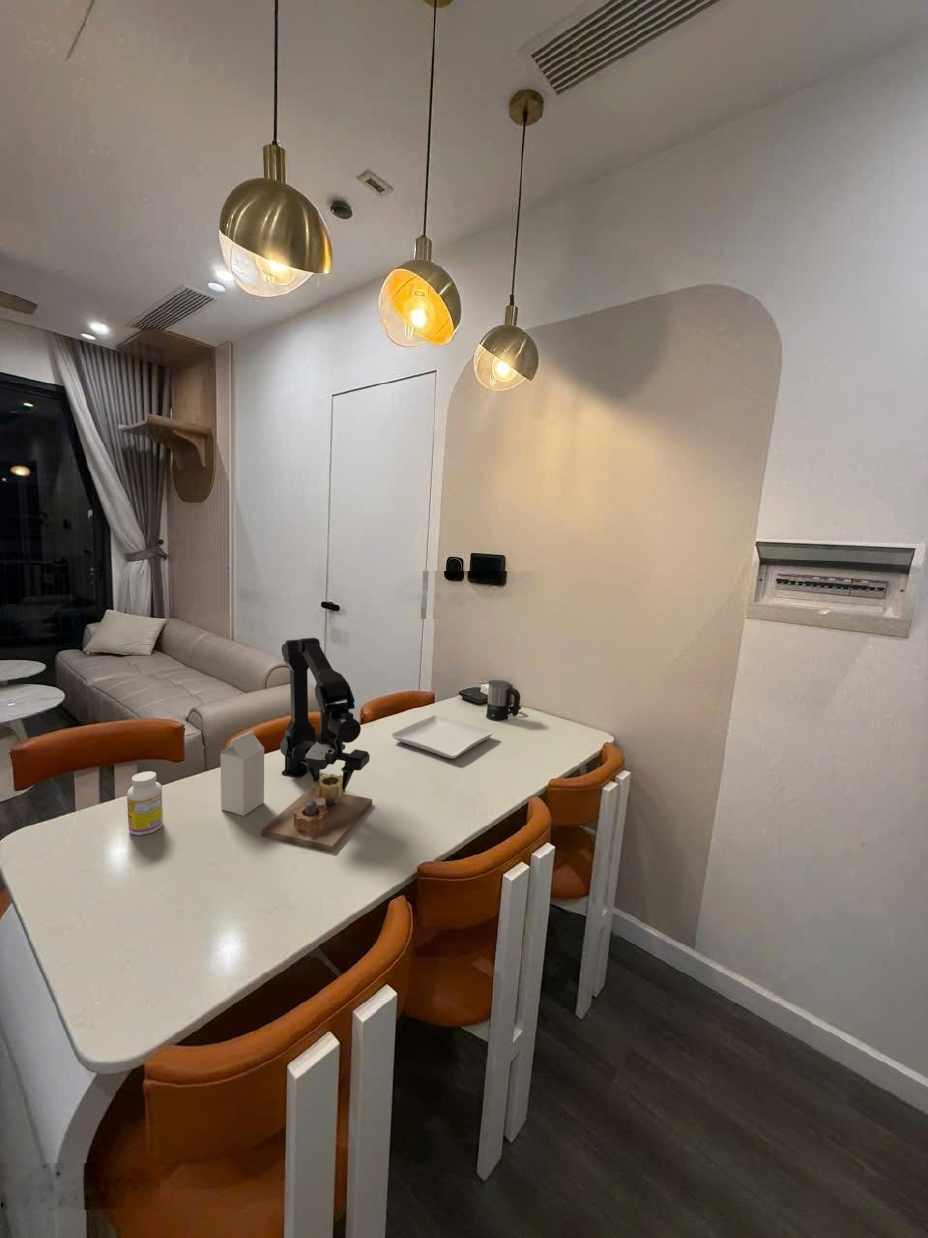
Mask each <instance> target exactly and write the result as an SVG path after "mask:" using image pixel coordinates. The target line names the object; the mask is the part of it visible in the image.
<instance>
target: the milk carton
mask: <svg viewBox="0 0 928 1238" xmlns="http://www.w3.org/2000/svg"><path fill="white" fill-rule="evenodd" d="M254 732H255V731H254V730H251V731H249V732H247V733H244V734H242V735H240V736H238V737H235V738H233V739H232V740H231V741H230V745H229V746H228V747H227V748H225V749H224V750H223V751H222V752H221V753H220V810H223V811H227V812H229V813H233V814H236V815H239V816H242V817H244V816H247V814H249V813H251V812H252V811H253V810H255V809H256V808H258V807H259V806H261V805H262V804H264V803H265V747H264V746H263V744H262V743H261V742H260V741H259V739H258V738H257V737H256V736H255V734H254Z"/></svg>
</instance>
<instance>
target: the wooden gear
mask: <svg viewBox="0 0 928 1238" xmlns="http://www.w3.org/2000/svg"><path fill="white" fill-rule="evenodd" d="M342 782H343V774H340V775H337V774H336V775H335V773H330V774H327V775H324V774H323V775H320V776H319V779H318V780H315V783H314V787H313V788H314V793H316V797H317V798H325V799H326V800H331V798H336V797H337V798H340V797H342V793H344V794H346V789H347V788H346V789H345V790H343V789H342ZM327 784H333V785H327Z"/></svg>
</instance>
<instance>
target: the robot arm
mask: <svg viewBox="0 0 928 1238" xmlns="http://www.w3.org/2000/svg"><path fill="white" fill-rule="evenodd" d="M320 645H321V643H320V640H319V638H316V637H306V638H305V637H303V638H300V639H299V638H298V639H286V641H285V642H284V643H283V644H282V645H281V654H282V657H283V662H284V663H285V665H286V666H287V667H288V668H287V669H288V670H289V675H290V676H289V678H290V679H289V681H290V683H289V685H290V721H289V723H288V725H287V726H286V727H285V730H284V734H285V735H284V736H283V738H282V741H281V742H280V744H279V749H280V753H281V754H282V756H284V769H283V770H282V771H281V775H285V776H291V777H295V778H302V777H303V776H305V775H306V774H308V773H310V775H311V778H312V781H313V783H314V784H315V780H318V779H319V777H320V776H321V775H320V772H321V771H322V770H325V769H327V767H328V766H329V765H334V764H335V763H336V762H337V761H343V762H344V766H343V767H342V768H341V771H342V776H343V782H342V789H343V790H345V789H347V788H348V784H349V782H350V780H351V778H352V775H353V774H354V771H357V772H358V771H362V769H363V768H364V767H365V766H366V765H367V764H369V762H370V757H371V756H370V752H368V751H367V750H363V749H361V750H360V749H356V748H354V750H352V752H350V753H348V752H344V750H345V749H346V744H349V743H352V742H355V741H356V740H357V739H358V738H359V736H360V735H361V730H362V727H361V723H360V722H359V721H358V720H357V719H355V718H354V713H353V712H350V710H353V709H354V710H355V709H356V706H355V701H356V700H355V697H354V695H353V691H352V689H351V686H350V684H349V681H347V680H346V678H345V677H344V676H343V675H342V673H340V672H338V671H335V670H334V669H333V667H332V666H331V663H330V662H329V660H328V658H327V657H326V654H325V652H324V651H323V649H322V647H321V646H320ZM308 670H310V671H311V673H312V676H313V678H314V680H315V682H316V683H315V687H314V693H315V697H316V700H317V704H318V707H319V708H320V712H319V713H320V714H319V732H318V733H317V734H316V728H315V727H314V726H313V725H312V723H311V721H310V720H309V693H308V692H309V690H308V689H309V687H308V684H309V683H308ZM337 702H339V703H337Z"/></svg>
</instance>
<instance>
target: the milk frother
mask: <svg viewBox="0 0 928 1238" xmlns="http://www.w3.org/2000/svg"><path fill="white" fill-rule="evenodd" d="M487 685H488V693H487V707H486V715H485V717H486V718H487V719H488V720H491V721H496V722H500V721H501V722H504V721H506V720H508V718H509V715H511V714H512V716H513V717H517V716H518V714H519V711H520V710H521V709H522V706H521V705H520V703H521V693H520V691H519V690H517V689H516V688H514V687H511V683H510V682H509V681H506V680H502V679H493V680H488V682H487ZM511 695H512V696H513V704H512V705H510V698H511Z"/></svg>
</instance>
